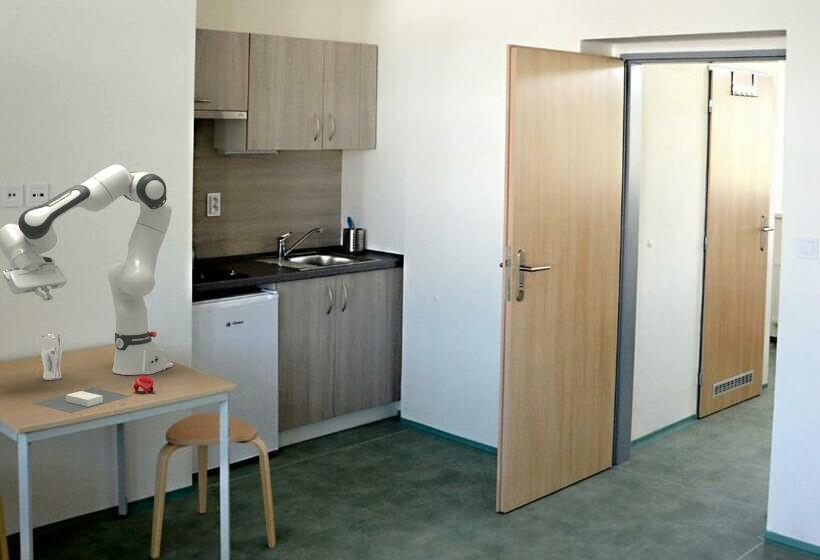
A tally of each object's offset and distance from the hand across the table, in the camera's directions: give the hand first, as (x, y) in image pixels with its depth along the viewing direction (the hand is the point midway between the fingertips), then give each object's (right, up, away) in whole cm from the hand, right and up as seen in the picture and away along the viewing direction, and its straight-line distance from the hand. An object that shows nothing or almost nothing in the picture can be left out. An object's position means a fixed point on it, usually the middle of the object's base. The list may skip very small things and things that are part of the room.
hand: (48, 299), depth 336 cm
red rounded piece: (+30, -32, +6) cm, 44 cm away
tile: (+10, -31, -7) cm, 33 cm away
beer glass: (-7, -28, +23) cm, 37 cm away
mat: (+13, -33, -6) cm, 36 cm away
